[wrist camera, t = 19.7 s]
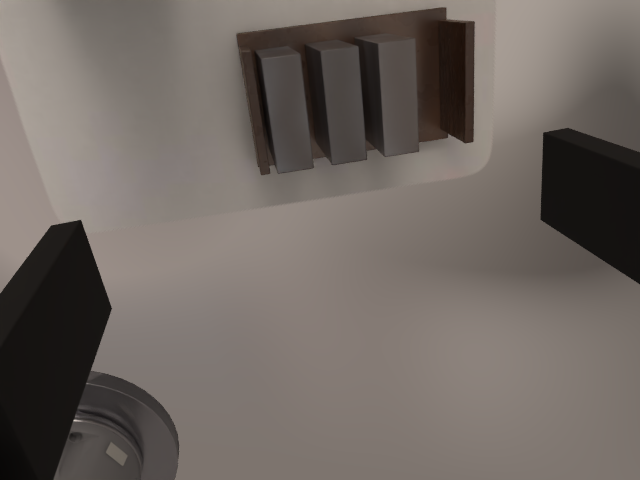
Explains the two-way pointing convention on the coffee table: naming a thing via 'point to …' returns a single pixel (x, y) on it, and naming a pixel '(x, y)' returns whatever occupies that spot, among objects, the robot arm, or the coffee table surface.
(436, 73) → the brown rack
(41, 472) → the robot arm
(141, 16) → the coffee table surface
